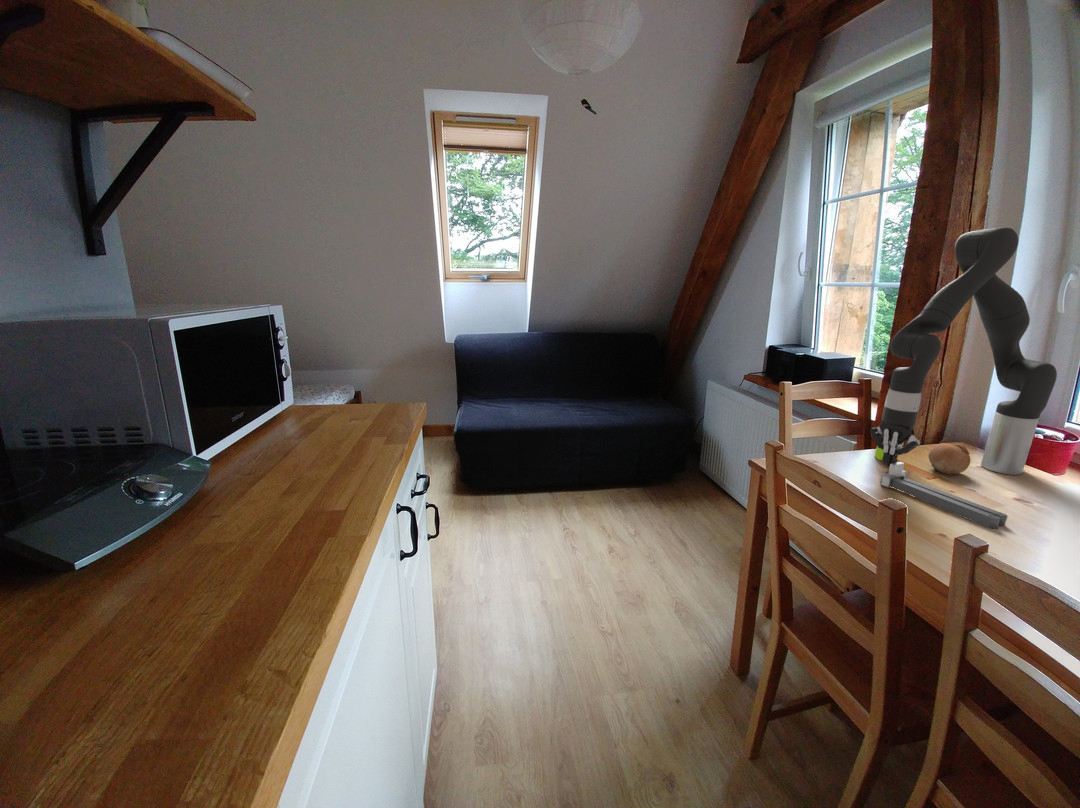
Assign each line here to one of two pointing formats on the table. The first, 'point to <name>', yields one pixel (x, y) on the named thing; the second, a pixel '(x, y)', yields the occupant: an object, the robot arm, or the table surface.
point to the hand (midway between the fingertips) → (888, 465)
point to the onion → (949, 458)
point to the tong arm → (962, 501)
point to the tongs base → (947, 503)
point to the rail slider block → (893, 473)
